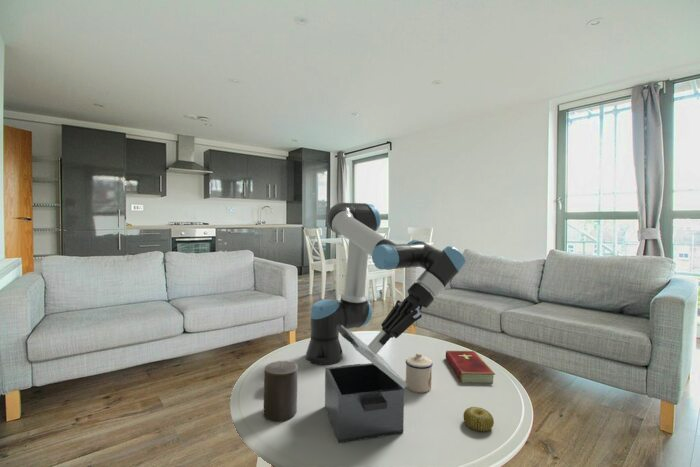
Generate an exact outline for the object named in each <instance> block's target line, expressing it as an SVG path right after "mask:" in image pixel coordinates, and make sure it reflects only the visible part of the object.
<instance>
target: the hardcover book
mask: <svg viewBox="0 0 700 467" xmlns="http://www.w3.org/2000/svg"><path fill="white" fill-rule="evenodd" d="M445 360H446V362H447V363H448V364H449V365H450V367H451V369H452V370H453V372H454V374H455V375H456V377H457V378H458V380H459V381H460V383H462V384H463V383H481V384H482V383H490V384H492V383H494V375H496V373H495V371H493V369H492V368H491V367H490V366H489V365H488V364H487V363H486V362H485V361H484V360H483V359H482V357H481V356H480V355H479V354H478V353H477V352H476V351H475V350H446V351H445Z"/></svg>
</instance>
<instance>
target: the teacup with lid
mask: <svg viewBox="0 0 700 467" xmlns="http://www.w3.org/2000/svg"><path fill="white" fill-rule="evenodd" d="M432 368H433V361H432V360H431V359H430V358H428V357H426V356H424V355H423V354H422V353H421V352H416V354H415V355H411V356H408V357H407V358H406V359H405V383H406V384H407V386H406V388H407V389H408V390H410V391H412V392H415V393H427V392H429V391H430V390H432V374H433V373H432V372H433V370H432Z"/></svg>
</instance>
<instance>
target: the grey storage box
mask: <svg viewBox="0 0 700 467" xmlns="http://www.w3.org/2000/svg"><path fill="white" fill-rule="evenodd" d="M324 371H325V372H324V376H325V377H324V378H325V379H324V407H325V411H326V413H327V416H328V419H329V421H330V424H331V427H332V430H333V432H334V436H335V438H336V441H337V444H343V443H344V444H346V443H351V442H356V441H362V440H369V439H374V438H375V439H376V438H381V437H387V436H392V435H398V434H399V435H401V434H404V420H405V417H404V416H405V415H404V414H405V412H404V411H405V409H404V408H405V407H404V406H405V388H403V387H402V386H401V385H399V384H398V383H397V382H396V381H394V380H393V379H392V378H391V377H389V376H388V375H387V374H385V373H384V372H383V371H382V370H380V369H379V368H378V367H377V366H375V365H374V364H373V363H372V362H369V363H357V364H356V363H355V364H347V365H339V366H332V367H325V368H324Z"/></svg>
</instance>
